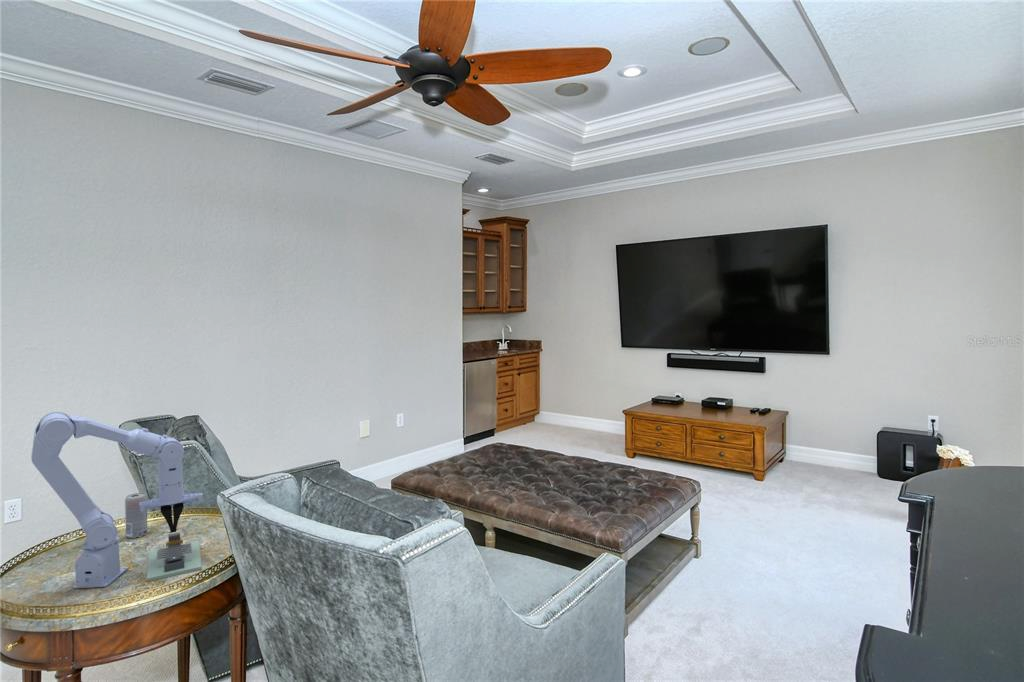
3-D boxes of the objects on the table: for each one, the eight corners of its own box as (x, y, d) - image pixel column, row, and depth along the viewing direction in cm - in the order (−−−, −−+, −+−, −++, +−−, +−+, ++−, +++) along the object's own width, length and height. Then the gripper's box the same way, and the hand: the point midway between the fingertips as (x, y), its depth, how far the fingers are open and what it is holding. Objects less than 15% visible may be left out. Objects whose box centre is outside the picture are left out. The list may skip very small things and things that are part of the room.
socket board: (201, 569, 145) (200, 551, 145) (146, 581, 139) (145, 563, 138) (199, 543, 160) (198, 527, 160) (150, 553, 154) (149, 536, 154)
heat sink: (192, 560, 148) (191, 553, 148) (156, 568, 144) (156, 561, 144) (191, 549, 155) (191, 542, 155) (157, 556, 151) (157, 549, 151)
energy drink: (145, 529, 170) (144, 491, 169) (149, 535, 166) (148, 496, 165) (124, 534, 166) (123, 495, 165) (128, 540, 163) (127, 500, 162)
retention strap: (183, 559, 144) (182, 555, 144) (165, 563, 142) (164, 559, 142) (182, 542, 155) (182, 538, 155) (166, 545, 153) (165, 541, 153)
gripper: (201, 474, 157) (203, 520, 158) (139, 482, 150) (142, 531, 151) (201, 481, 151) (204, 529, 152) (138, 490, 144) (140, 541, 145)
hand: (173, 531), depth 151 cm, fingers closed
